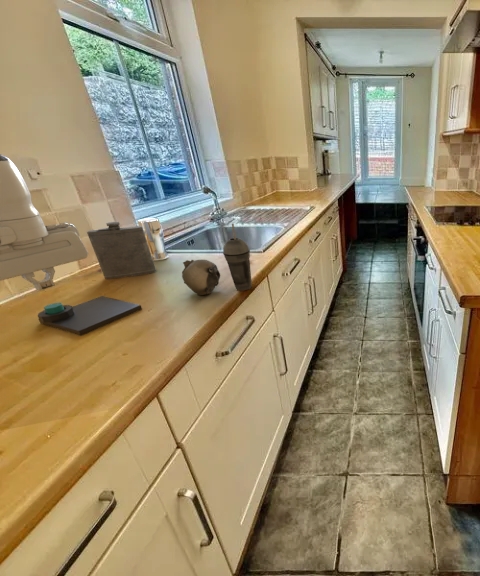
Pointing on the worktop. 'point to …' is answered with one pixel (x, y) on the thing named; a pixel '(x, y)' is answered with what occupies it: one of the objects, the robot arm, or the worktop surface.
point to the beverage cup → (238, 262)
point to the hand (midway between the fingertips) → (45, 287)
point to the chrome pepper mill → (154, 238)
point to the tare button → (54, 308)
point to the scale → (88, 315)
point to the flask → (122, 251)
